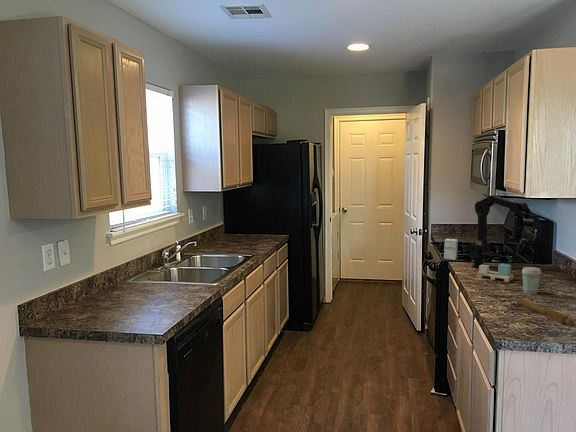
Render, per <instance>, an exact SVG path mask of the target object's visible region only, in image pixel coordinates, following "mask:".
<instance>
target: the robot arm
mask: <svg viewBox="0 0 576 432" xmlns="http://www.w3.org/2000/svg"><path fill="white" fill-rule="evenodd" d="M494 205H498V206H501V207H505V208H507V209H509V211H511V212H512V213H511V214H510V217H513V226H512V228H511V229H512V234H511V236H509V237H508V238H507V243H508V244H509V247H510V249H511V251H512V254H513V255H514V256H517V254H518V253H522V250H523V247H524V246H525V243H527V242H528V241H529V240H530V241H532V242H533V241H534V240H536V237H537V231H536V230H531V231H530V230H527V227H528V228H535V229H537V228H539V227H540V224H541V219H540V217H539V215H538V214H533V213H532V211H531V210H530V207H529V205H528V203H526V202H525V201H524V202H523V201H515V200H510V199H508V198H507V199H506V198H504V197H501V196H498V195H495V194H493V195H488V196H487V197H485V198H484V199H481V200H480V201H479V200H478V201H476V202H475V203H474V210H475V211H474V212H475V213H476V216H477V241H476V243H475V245H474V249H473V250H472V251H471V252H470V254H469V255H470V257H471V258H473V265H471V266H470V267H471V268H475V269H476V268H477V269H479V266H480V265H485V264H484V263H485V258H487V257H488V256H489V254H490V251H492V250H491V243H490V242H488V239H487V237H488V236H487V234H488V229H487V228H488V225H487V224H488V215H489V213H490V211H491V207H493V206H494Z"/></svg>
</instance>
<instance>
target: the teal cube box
mask: <svg viewBox="0 0 576 432" xmlns="http://www.w3.org/2000/svg"><path fill="white" fill-rule="evenodd" d="M497 269H498V270H497V272H498V274H499V275H506V276H508V275H510V274H512V272H511V271H512V270H511V269H512V265H511V264H509V263H508V264H506V263H500V264H499V265H498V268H497Z"/></svg>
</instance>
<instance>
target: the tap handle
mask: <svg viewBox="0 0 576 432" xmlns="http://www.w3.org/2000/svg"><path fill="white" fill-rule="evenodd" d="M515 302H516V304H517V305H519V306H521V307H524V308H525V309H529V310H532V311H533V312H534V311H535V312H537V313H539V314H542V315H543V316H545V318H547V319H550V320H552V321H554V322H557V323H558V324H563V325H567V326H569V327H573V326H574V324H575V321H574V320H573V319H572V318H569V316H568V315H566V314H563V313H561V312H558V311H556V310H552V309H545V308H543V307H542V306H541V307H540V306H539V305H536V304H534V303H532V302H530V301H527V300H526V299H524V298H520V297H519V298H517V299H516V301H515Z"/></svg>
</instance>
